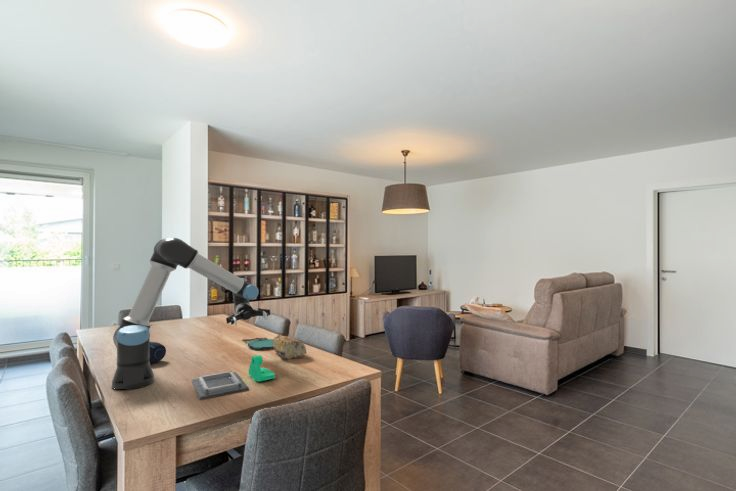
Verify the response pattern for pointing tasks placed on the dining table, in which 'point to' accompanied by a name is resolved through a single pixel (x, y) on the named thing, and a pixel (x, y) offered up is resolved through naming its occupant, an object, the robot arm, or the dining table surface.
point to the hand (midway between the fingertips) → (251, 319)
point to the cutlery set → (260, 343)
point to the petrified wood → (288, 347)
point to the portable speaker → (156, 352)
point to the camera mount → (259, 370)
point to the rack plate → (218, 384)
